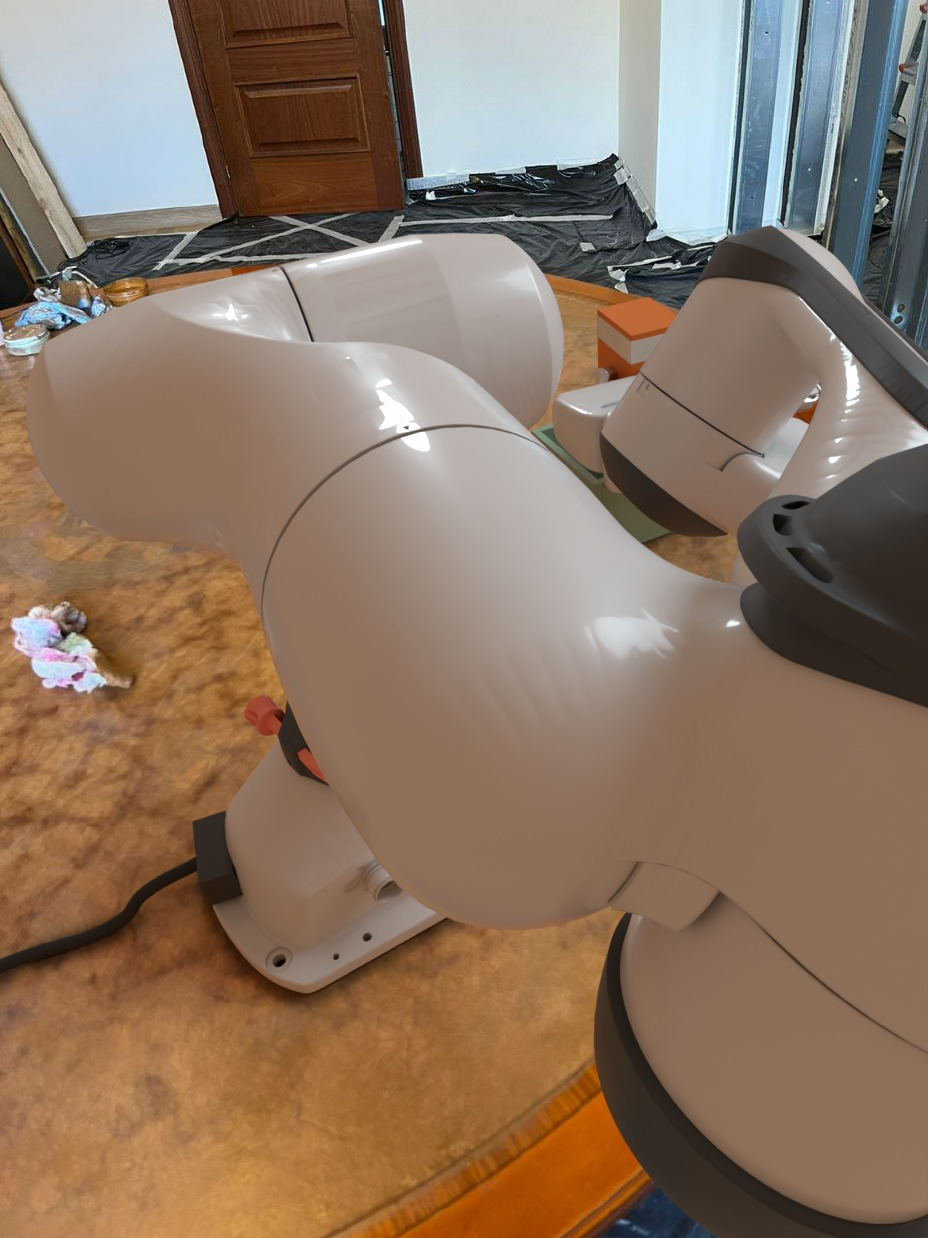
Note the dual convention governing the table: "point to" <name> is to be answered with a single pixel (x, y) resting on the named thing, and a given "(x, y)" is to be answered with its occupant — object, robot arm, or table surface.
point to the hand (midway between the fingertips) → (634, 366)
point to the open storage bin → (603, 491)
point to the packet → (630, 334)
